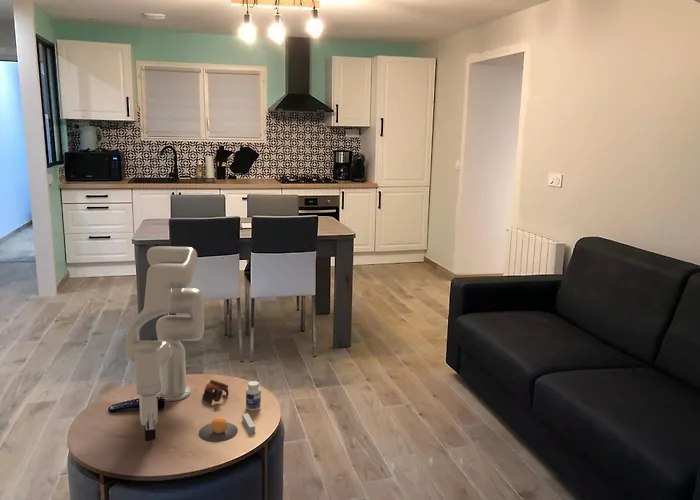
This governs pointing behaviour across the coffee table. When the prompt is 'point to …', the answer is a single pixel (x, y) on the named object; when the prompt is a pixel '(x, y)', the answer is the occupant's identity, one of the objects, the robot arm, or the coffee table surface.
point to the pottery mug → (217, 393)
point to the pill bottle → (253, 396)
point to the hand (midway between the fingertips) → (150, 439)
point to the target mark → (209, 435)
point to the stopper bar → (248, 423)
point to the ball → (219, 425)
